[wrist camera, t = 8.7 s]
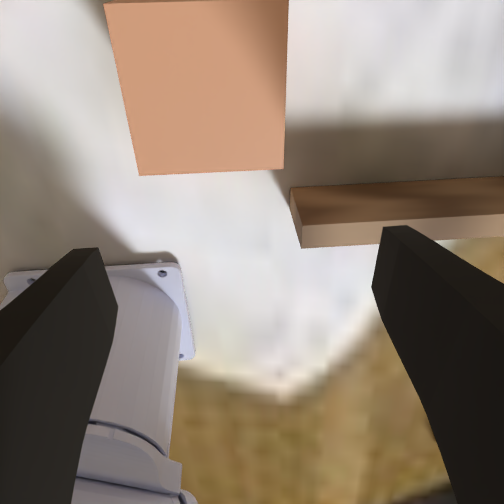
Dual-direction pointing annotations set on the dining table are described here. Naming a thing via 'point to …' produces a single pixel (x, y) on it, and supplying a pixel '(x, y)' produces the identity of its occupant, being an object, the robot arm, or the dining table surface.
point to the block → (202, 82)
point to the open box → (398, 210)
